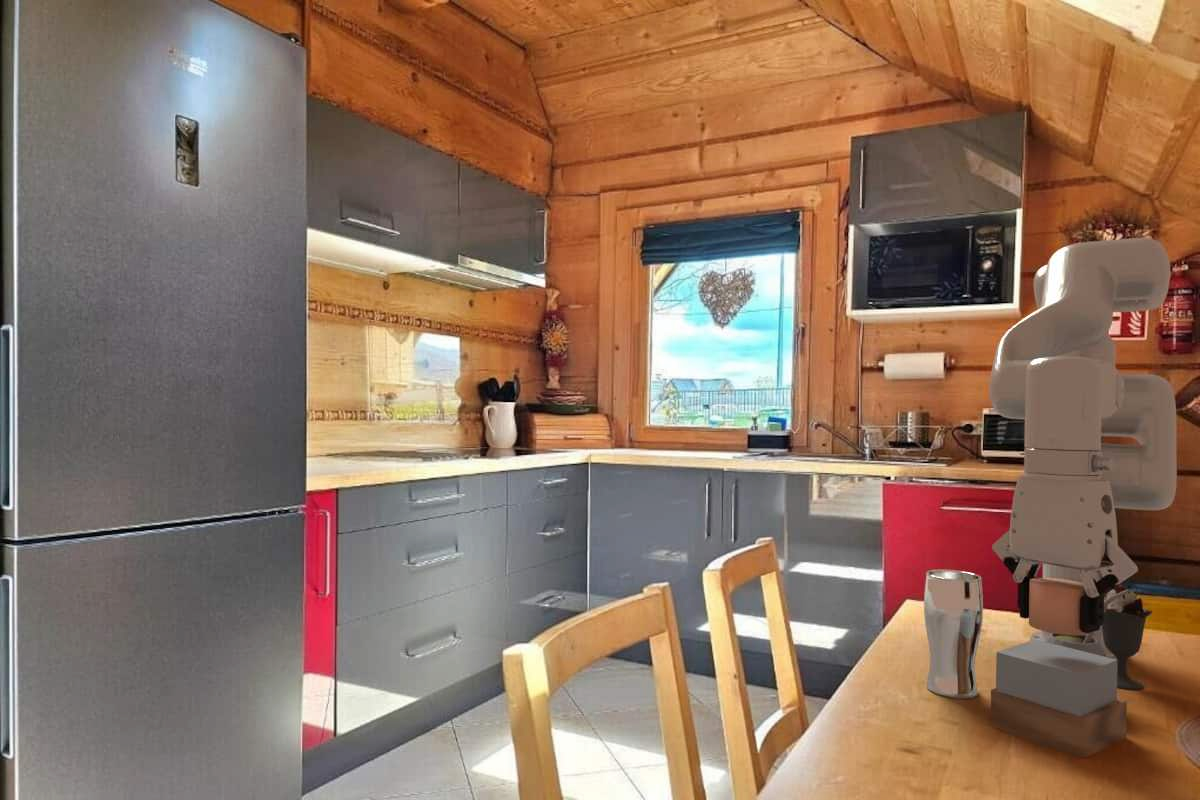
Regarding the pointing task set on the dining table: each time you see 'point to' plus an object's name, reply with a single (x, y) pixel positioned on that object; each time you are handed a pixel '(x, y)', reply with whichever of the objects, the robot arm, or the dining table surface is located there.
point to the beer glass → (953, 631)
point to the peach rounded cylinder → (1055, 605)
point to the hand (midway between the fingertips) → (1059, 622)
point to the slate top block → (1057, 677)
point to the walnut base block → (1060, 724)
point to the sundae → (1124, 631)
